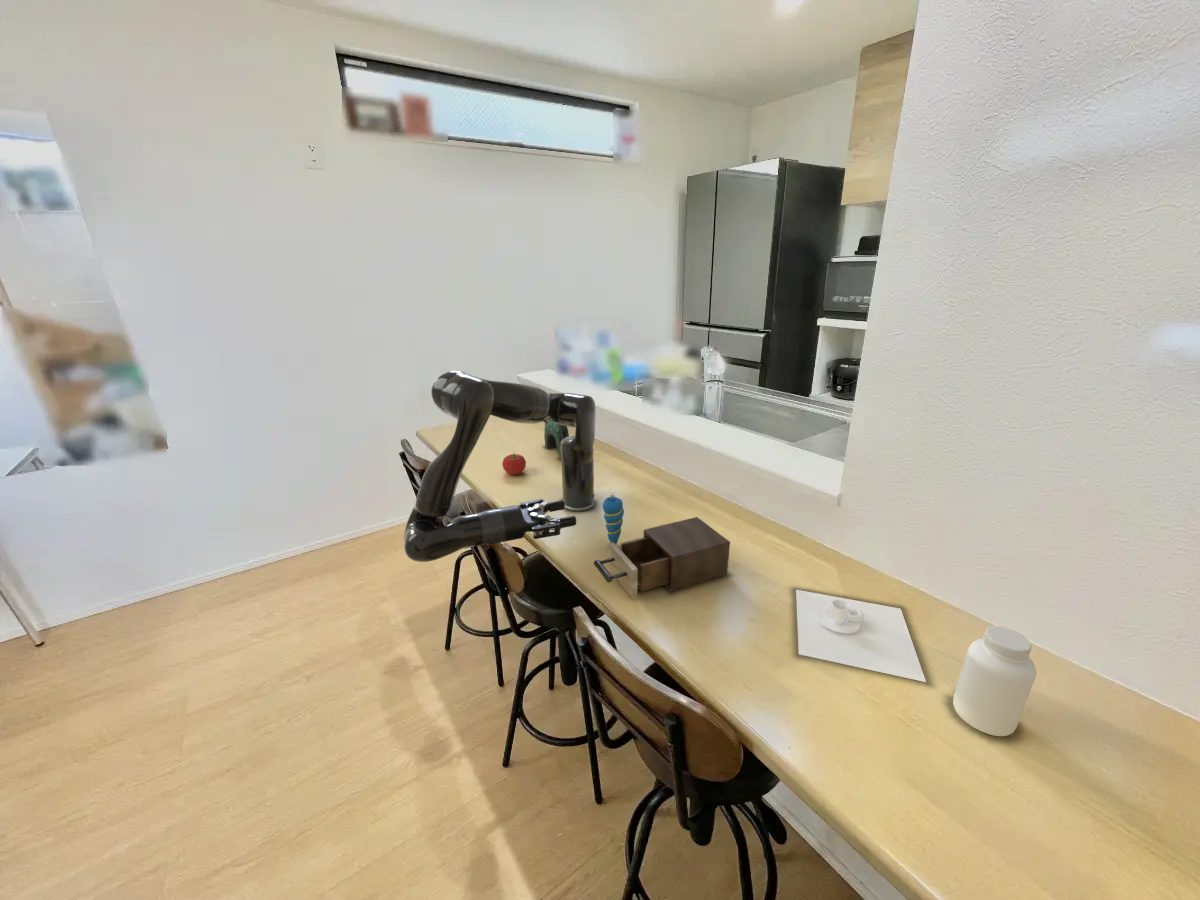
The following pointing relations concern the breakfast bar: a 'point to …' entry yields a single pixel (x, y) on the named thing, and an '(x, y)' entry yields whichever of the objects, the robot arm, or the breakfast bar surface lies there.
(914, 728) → the breakfast bar surface
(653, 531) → the cabinet
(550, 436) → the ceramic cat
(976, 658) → the pill bottle
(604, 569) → the drawer
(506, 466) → the tomato
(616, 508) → the ornament
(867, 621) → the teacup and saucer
